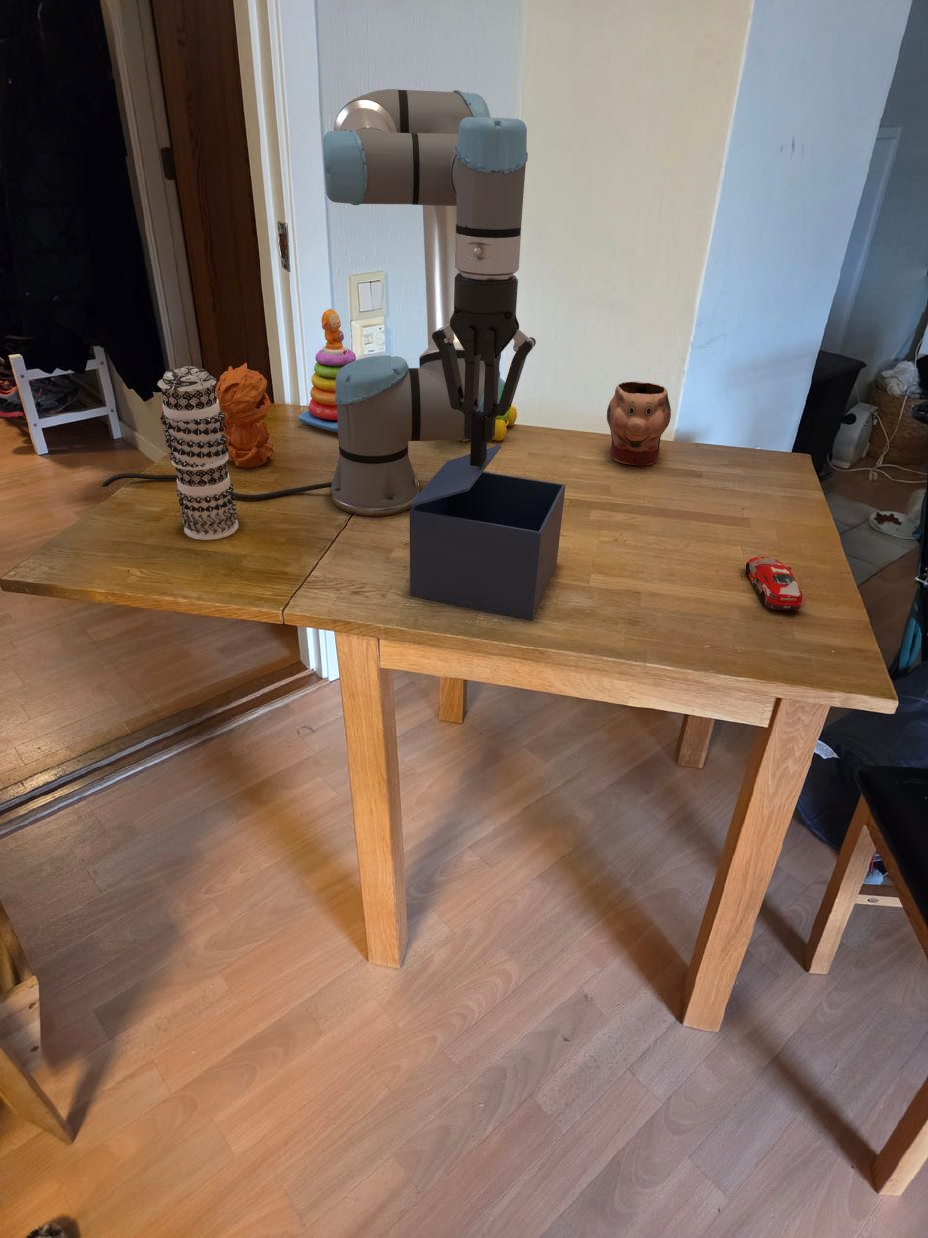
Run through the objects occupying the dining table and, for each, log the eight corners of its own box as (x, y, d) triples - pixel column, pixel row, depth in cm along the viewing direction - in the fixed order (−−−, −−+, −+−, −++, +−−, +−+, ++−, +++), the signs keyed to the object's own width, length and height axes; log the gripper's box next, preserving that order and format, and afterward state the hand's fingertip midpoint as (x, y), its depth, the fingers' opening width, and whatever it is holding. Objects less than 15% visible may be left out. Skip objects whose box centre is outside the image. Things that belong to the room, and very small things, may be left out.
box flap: (410, 507, 102) (409, 504, 102) (448, 463, 115) (447, 460, 115) (468, 490, 98) (467, 487, 98) (501, 446, 111) (500, 444, 111)
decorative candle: (186, 545, 120) (155, 384, 106) (177, 520, 127) (147, 365, 113) (246, 535, 123) (224, 377, 109) (234, 511, 130) (212, 359, 116)
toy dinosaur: (293, 459, 149) (283, 363, 139) (251, 477, 141) (238, 378, 131) (250, 445, 154) (239, 352, 144) (208, 463, 146) (192, 366, 136)
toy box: (410, 596, 110) (409, 510, 103) (445, 545, 123) (447, 465, 115) (532, 620, 106) (540, 533, 98) (556, 565, 119) (565, 484, 111)
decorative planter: (599, 434, 165) (608, 368, 157) (658, 438, 164) (669, 372, 156) (603, 472, 149) (613, 400, 141) (668, 476, 148) (682, 404, 140)
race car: (740, 567, 120) (746, 544, 118) (776, 568, 120) (782, 545, 118) (763, 613, 109) (771, 589, 107) (802, 616, 109) (810, 591, 107)
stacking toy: (343, 440, 158) (336, 320, 144) (294, 427, 163) (283, 310, 150) (382, 421, 167) (379, 307, 154) (335, 409, 172) (328, 298, 159)
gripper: (423, 273, 90) (422, 465, 103) (533, 284, 87) (518, 480, 100) (444, 263, 96) (441, 445, 109) (547, 272, 93) (531, 459, 106)
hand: (478, 462), depth 105 cm, fingers closed
